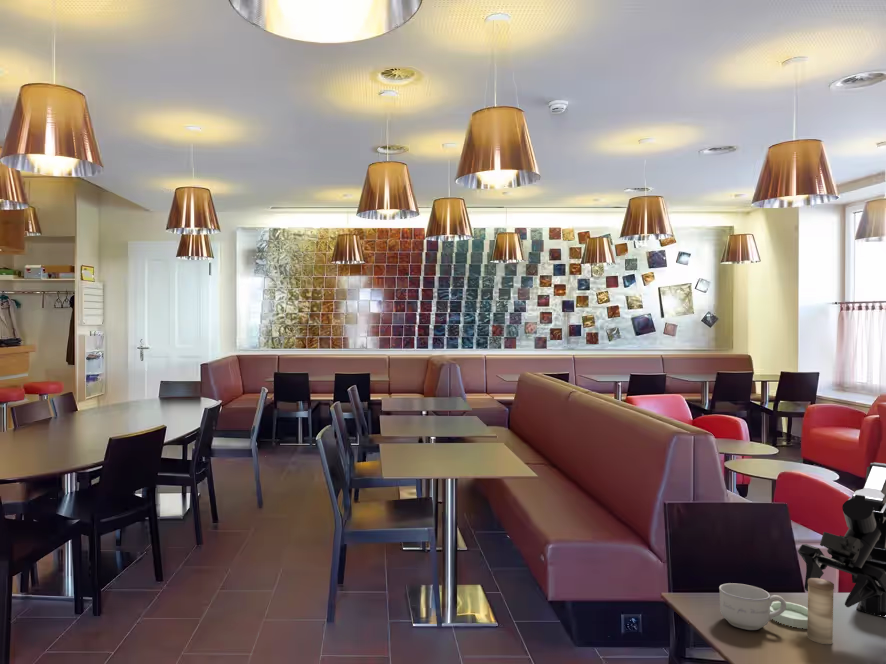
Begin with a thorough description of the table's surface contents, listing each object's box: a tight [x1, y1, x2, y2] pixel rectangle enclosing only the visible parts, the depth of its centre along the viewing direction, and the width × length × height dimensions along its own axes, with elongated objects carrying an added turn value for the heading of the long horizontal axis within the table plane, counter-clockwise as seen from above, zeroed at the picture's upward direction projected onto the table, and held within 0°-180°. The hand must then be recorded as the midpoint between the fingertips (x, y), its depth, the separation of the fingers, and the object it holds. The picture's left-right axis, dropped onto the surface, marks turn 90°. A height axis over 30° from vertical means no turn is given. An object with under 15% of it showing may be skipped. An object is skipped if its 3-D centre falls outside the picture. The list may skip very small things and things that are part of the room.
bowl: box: [770, 600, 808, 630], centre depth 147 cm, size 10×10×2 cm
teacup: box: [718, 582, 787, 631], centre depth 142 cm, size 14×11×8 cm
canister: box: [806, 578, 835, 645], centre depth 137 cm, size 5×5×12 cm
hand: (825, 597), depth 138 cm, fingers open, 9 cm apart
